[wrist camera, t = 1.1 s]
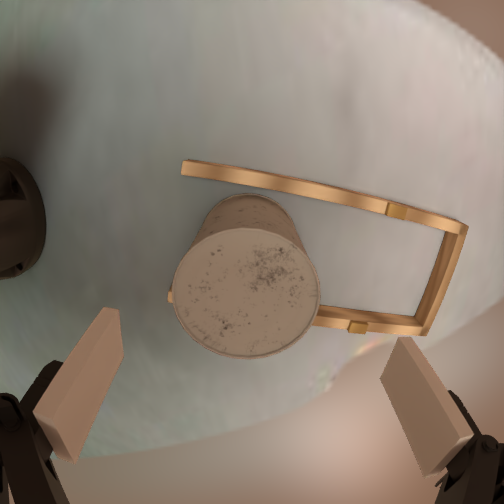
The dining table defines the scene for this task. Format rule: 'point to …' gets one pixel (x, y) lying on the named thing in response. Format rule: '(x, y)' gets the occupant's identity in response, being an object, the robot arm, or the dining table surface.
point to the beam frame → (454, 229)
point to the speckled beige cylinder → (246, 281)
